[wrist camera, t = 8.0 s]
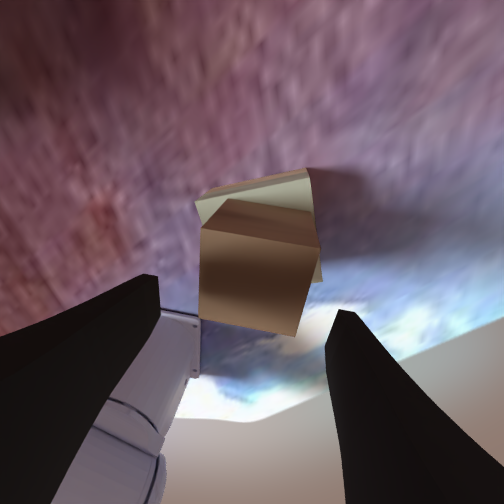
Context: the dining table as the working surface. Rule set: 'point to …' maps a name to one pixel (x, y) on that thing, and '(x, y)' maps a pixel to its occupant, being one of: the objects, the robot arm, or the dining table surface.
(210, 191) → the cream slab
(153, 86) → the dining table surface
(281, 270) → the walnut cube
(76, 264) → the dining table surface
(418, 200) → the dining table surface
